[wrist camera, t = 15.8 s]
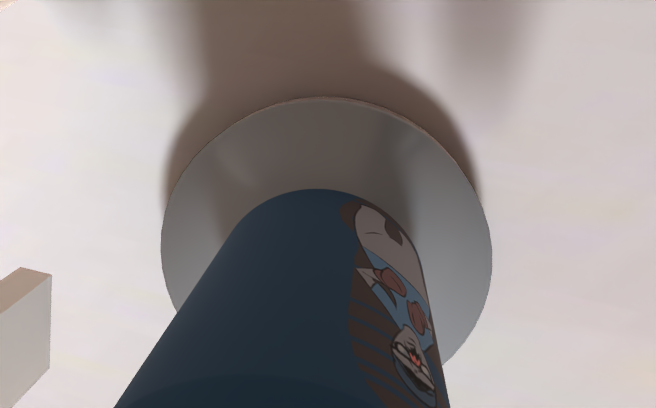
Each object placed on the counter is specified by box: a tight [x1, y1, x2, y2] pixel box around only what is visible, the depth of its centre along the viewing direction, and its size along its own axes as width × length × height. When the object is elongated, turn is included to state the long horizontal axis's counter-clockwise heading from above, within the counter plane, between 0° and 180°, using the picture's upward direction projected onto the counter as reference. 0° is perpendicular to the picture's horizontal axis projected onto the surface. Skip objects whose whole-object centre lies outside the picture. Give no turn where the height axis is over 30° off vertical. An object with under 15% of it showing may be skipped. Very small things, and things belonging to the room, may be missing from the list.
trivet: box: [161, 96, 492, 365], centre depth 19 cm, size 12×12×2 cm
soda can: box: [114, 189, 450, 408], centre depth 13 cm, size 7×7×12 cm
